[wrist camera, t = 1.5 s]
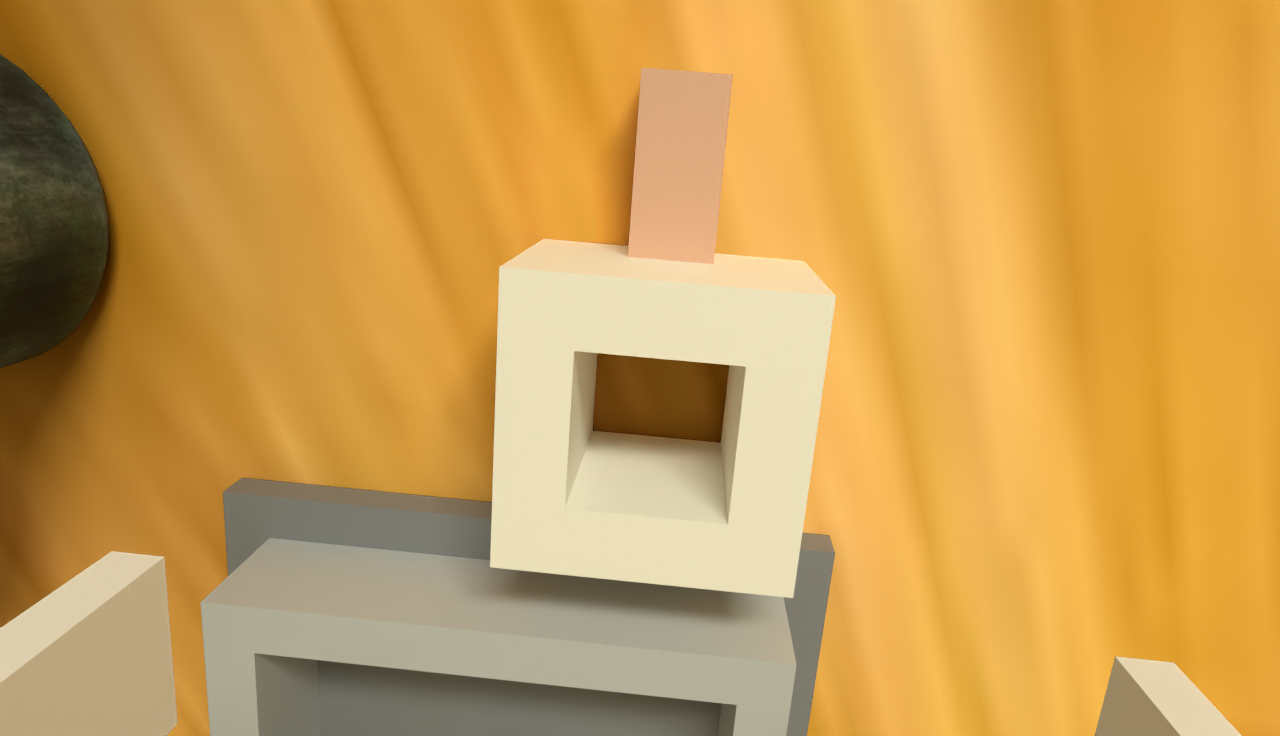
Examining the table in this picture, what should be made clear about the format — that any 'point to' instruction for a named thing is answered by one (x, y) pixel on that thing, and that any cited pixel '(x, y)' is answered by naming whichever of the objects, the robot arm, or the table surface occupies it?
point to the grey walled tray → (481, 632)
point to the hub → (664, 329)
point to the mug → (44, 221)
